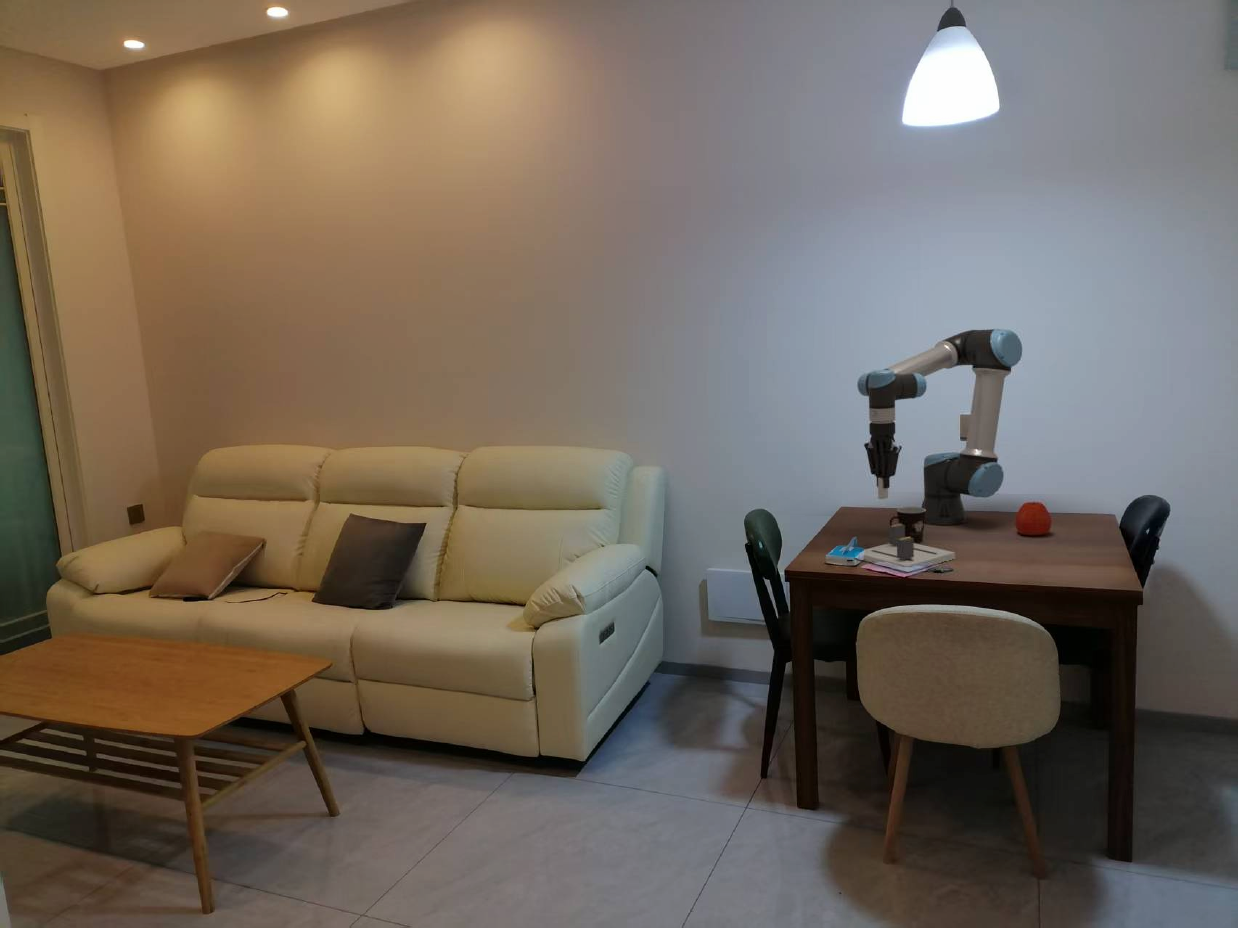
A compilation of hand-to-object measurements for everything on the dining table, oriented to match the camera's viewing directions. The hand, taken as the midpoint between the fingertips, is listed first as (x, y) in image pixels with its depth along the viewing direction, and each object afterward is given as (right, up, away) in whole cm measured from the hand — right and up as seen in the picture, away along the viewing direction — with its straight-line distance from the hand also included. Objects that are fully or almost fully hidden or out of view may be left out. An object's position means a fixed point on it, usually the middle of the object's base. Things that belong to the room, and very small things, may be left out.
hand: (883, 498), depth 268 cm
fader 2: (+1, -16, -17) cm, 24 cm away
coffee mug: (+10, -14, +9) cm, 19 cm away
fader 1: (+4, -14, -2) cm, 14 cm away
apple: (+49, -12, +7) cm, 51 cm away
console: (+3, -17, -10) cm, 20 cm away
